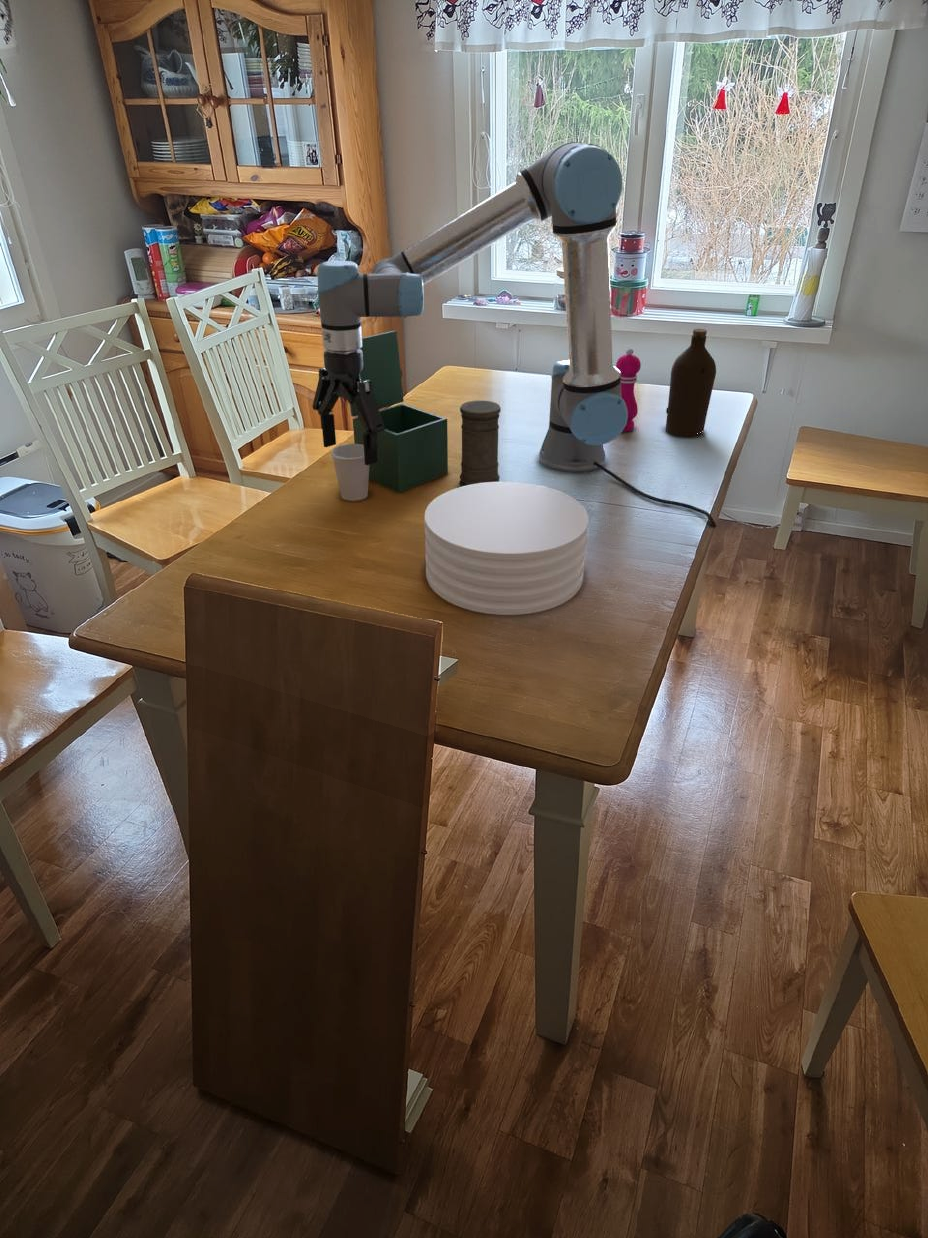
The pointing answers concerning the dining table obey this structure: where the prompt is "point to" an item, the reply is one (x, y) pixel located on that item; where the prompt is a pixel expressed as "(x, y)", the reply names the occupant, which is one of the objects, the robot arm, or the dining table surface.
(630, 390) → the pepper mill
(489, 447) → the container
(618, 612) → the dining table surface
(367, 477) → the dixie cup
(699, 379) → the olive oil
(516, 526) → the plate stack
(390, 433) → the chest
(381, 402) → the lid
